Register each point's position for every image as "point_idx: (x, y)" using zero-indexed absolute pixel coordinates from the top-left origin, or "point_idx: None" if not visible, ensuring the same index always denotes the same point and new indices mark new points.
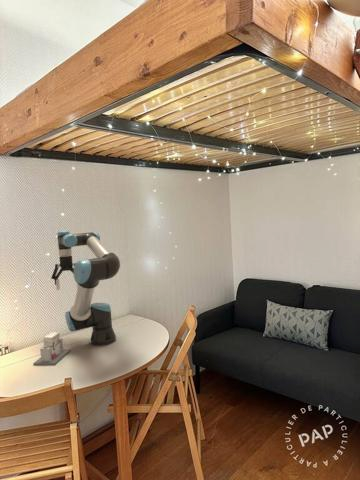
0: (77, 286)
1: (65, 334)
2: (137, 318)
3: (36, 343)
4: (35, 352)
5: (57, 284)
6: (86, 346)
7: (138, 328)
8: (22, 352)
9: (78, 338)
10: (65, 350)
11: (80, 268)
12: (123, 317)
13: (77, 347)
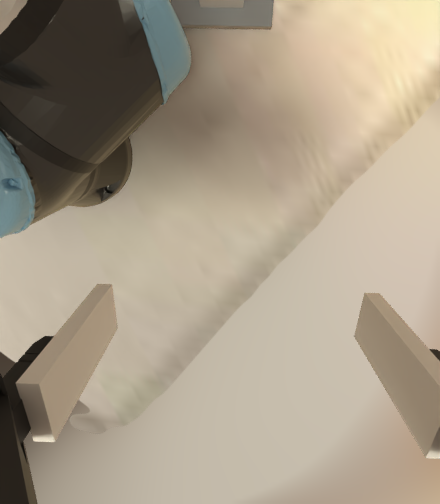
0: (92, 302)
1: (286, 242)
2: None
3: (382, 144)
4: (345, 21)
5: (400, 341)
6: None
7: (4, 280)
8: (413, 25)
9: (207, 190)
10: (189, 6)
11: None
12: (124, 395)
13: None
